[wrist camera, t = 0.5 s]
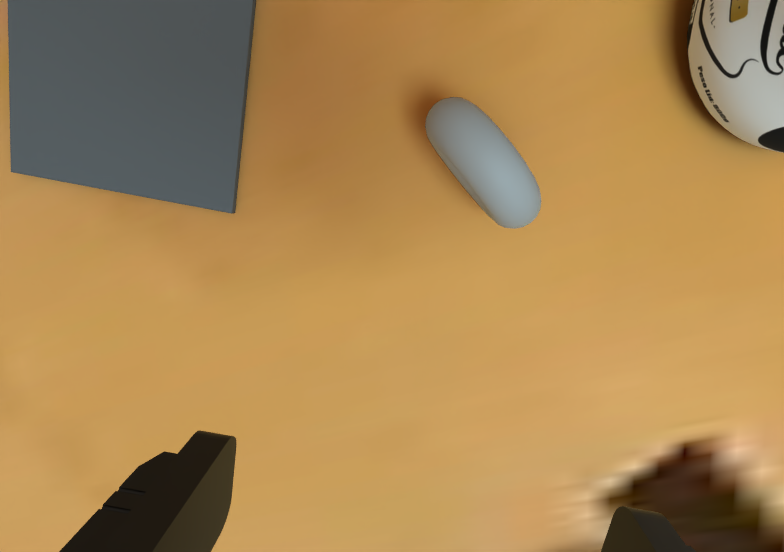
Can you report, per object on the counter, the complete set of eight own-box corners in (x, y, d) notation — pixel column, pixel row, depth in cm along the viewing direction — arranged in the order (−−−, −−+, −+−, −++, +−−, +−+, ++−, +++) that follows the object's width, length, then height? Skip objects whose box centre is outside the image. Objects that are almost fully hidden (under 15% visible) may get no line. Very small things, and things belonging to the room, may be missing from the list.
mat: (13, -114, 31) (5, -119, 31) (262, -68, 31) (259, -72, 31) (17, 171, 36) (11, 171, 35) (234, 212, 36) (232, 213, 35)
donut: (413, 129, 34) (414, 112, 24) (449, 98, 33) (464, 67, 23) (493, 229, 35) (524, 251, 26) (529, 201, 35) (575, 212, 25)
